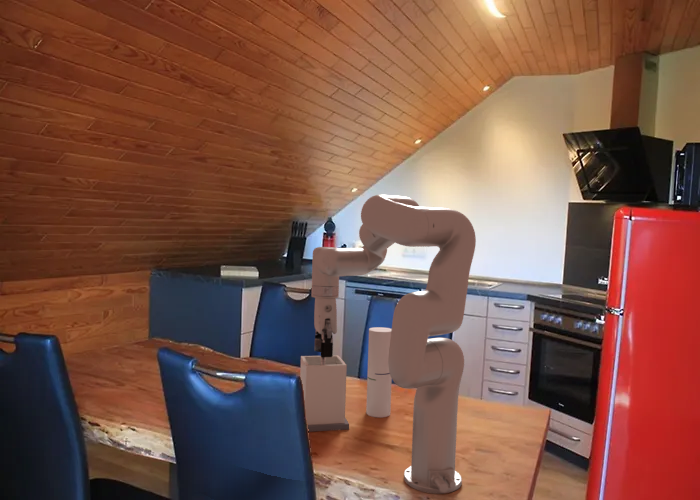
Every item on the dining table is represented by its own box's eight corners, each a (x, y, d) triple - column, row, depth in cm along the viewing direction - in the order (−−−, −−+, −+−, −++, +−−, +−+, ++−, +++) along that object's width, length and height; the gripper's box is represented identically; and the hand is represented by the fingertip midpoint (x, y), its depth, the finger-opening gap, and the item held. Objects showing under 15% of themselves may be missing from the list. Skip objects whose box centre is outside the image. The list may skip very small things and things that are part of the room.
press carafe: (349, 429, 153) (351, 365, 152) (301, 431, 150) (303, 367, 149) (339, 413, 166) (341, 354, 165) (295, 415, 163) (296, 355, 162)
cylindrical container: (388, 418, 163) (391, 332, 161) (364, 416, 164) (367, 330, 163) (391, 410, 170) (394, 328, 168) (368, 408, 171) (371, 326, 170)
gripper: (345, 295, 149) (343, 360, 149) (332, 287, 165) (330, 345, 166) (316, 295, 147) (315, 360, 148) (307, 287, 164) (305, 346, 165)
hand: (323, 352), depth 157 cm, fingers open, 9 cm apart
